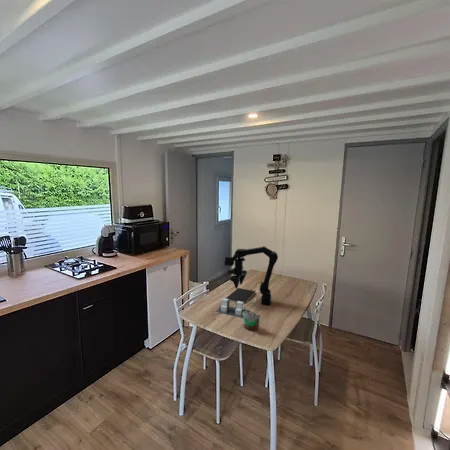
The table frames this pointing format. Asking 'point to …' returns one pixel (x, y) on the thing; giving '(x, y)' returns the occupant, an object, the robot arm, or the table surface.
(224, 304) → the block
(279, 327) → the table surface
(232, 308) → the rail
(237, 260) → the robot arm
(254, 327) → the food container
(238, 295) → the hardcover book
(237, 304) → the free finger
